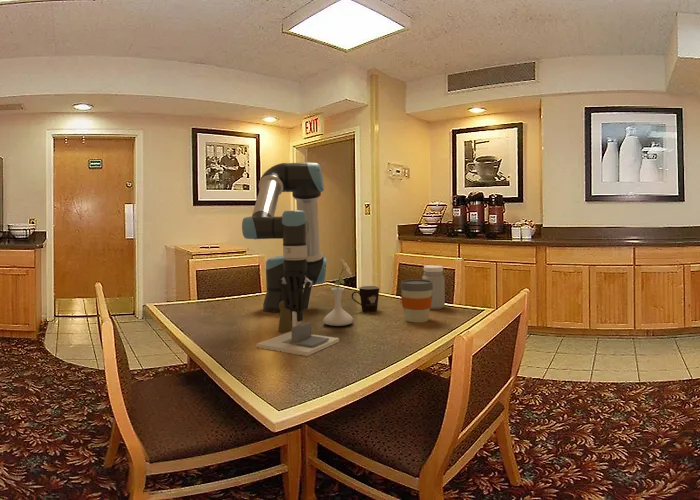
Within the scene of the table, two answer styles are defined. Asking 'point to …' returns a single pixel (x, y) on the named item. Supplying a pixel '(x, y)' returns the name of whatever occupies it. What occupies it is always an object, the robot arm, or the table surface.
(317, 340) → the grey bookend
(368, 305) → the coffee mug
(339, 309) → the flower in vase
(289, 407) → the table surface
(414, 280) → the reusable coffee cup
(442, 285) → the jar
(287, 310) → the olive brown pawn
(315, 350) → the socket plate
